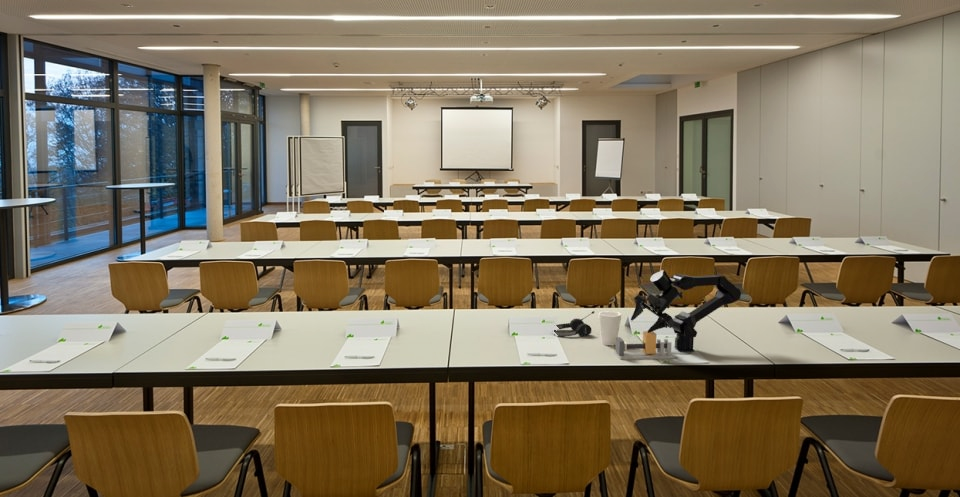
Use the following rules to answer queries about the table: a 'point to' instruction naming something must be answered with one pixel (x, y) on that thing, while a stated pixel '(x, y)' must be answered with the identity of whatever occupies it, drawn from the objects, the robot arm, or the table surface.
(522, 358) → the table surface
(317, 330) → the table surface
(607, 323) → the foam cup
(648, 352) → the sleeve
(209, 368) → the table surface
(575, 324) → the headset
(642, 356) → the comb base
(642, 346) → the dark grey rod
